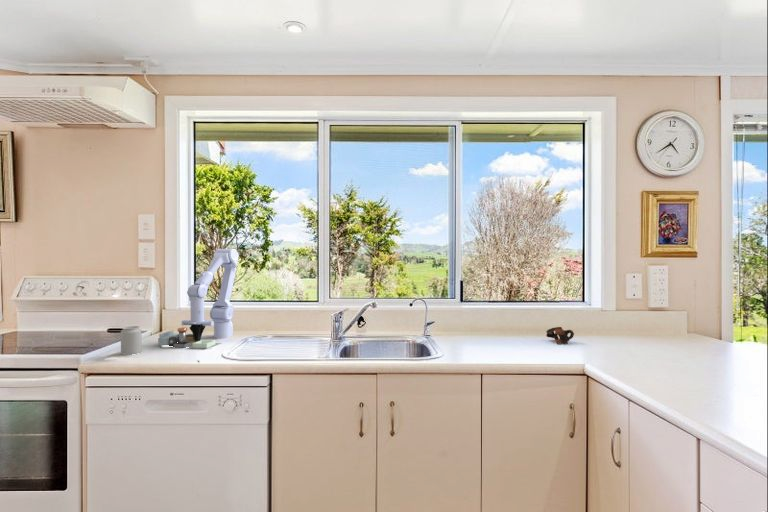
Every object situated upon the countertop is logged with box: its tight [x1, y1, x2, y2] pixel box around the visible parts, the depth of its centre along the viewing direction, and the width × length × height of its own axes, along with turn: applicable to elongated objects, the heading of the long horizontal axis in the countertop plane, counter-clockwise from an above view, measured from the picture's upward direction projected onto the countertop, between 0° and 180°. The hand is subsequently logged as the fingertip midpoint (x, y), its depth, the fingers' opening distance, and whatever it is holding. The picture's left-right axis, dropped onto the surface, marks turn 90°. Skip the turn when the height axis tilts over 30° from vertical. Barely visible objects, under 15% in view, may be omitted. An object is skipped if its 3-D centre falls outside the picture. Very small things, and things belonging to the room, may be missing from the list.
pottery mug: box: [545, 326, 575, 345], centre depth 207 cm, size 12×10×8 cm
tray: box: [192, 339, 217, 350], centre depth 195 cm, size 7×7×2 cm
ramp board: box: [173, 342, 222, 350], centre depth 198 cm, size 12×24×3 cm, turn 81°
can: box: [120, 325, 143, 356], centre depth 184 cm, size 8×8×12 cm
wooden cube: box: [186, 333, 195, 343], centre depth 202 cm, size 4×4×4 cm
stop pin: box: [177, 327, 188, 344], centre depth 195 cm, size 4×4×8 cm
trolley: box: [157, 330, 179, 346], centre depth 199 cm, size 10×7×5 cm
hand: (197, 341), depth 201 cm, fingers closed
